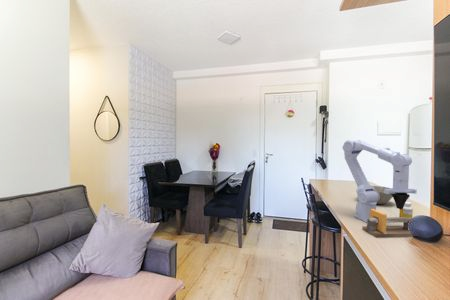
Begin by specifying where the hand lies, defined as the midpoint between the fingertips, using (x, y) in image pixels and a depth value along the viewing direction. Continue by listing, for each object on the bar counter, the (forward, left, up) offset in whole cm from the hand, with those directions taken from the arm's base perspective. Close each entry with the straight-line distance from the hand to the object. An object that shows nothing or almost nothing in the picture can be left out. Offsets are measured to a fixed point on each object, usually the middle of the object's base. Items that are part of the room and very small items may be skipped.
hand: (399, 208), depth 106 cm
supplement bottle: (-12, +15, -11) cm, 22 cm away
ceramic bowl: (-45, +24, -11) cm, 52 cm away
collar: (+3, -13, -8) cm, 16 cm away
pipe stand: (+3, -7, -10) cm, 13 cm away
